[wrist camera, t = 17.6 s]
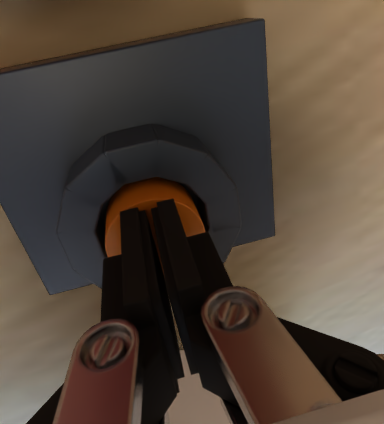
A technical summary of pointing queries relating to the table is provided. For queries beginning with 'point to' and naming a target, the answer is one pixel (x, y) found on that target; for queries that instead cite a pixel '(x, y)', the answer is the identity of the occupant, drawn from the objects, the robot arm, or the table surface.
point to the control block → (136, 142)
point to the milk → (195, 401)
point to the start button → (149, 209)
